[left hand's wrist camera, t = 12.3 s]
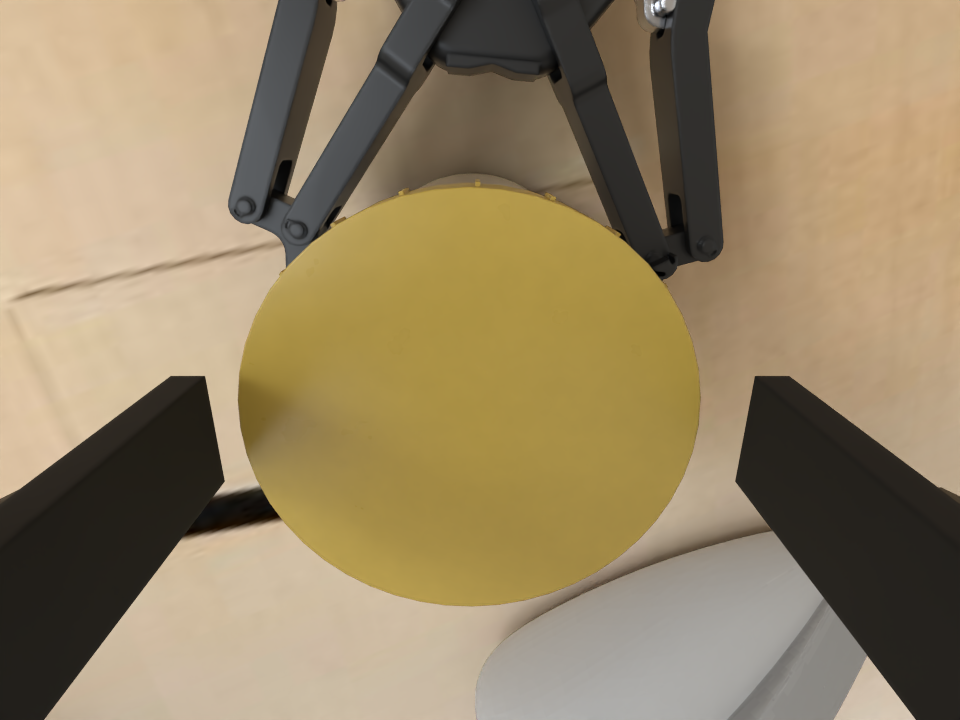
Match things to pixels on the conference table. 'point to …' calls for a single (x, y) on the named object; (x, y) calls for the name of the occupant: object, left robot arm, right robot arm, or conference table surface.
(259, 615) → the conference table surface
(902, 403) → the conference table surface
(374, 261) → the lid
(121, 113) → the conference table surface
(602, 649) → the projector
